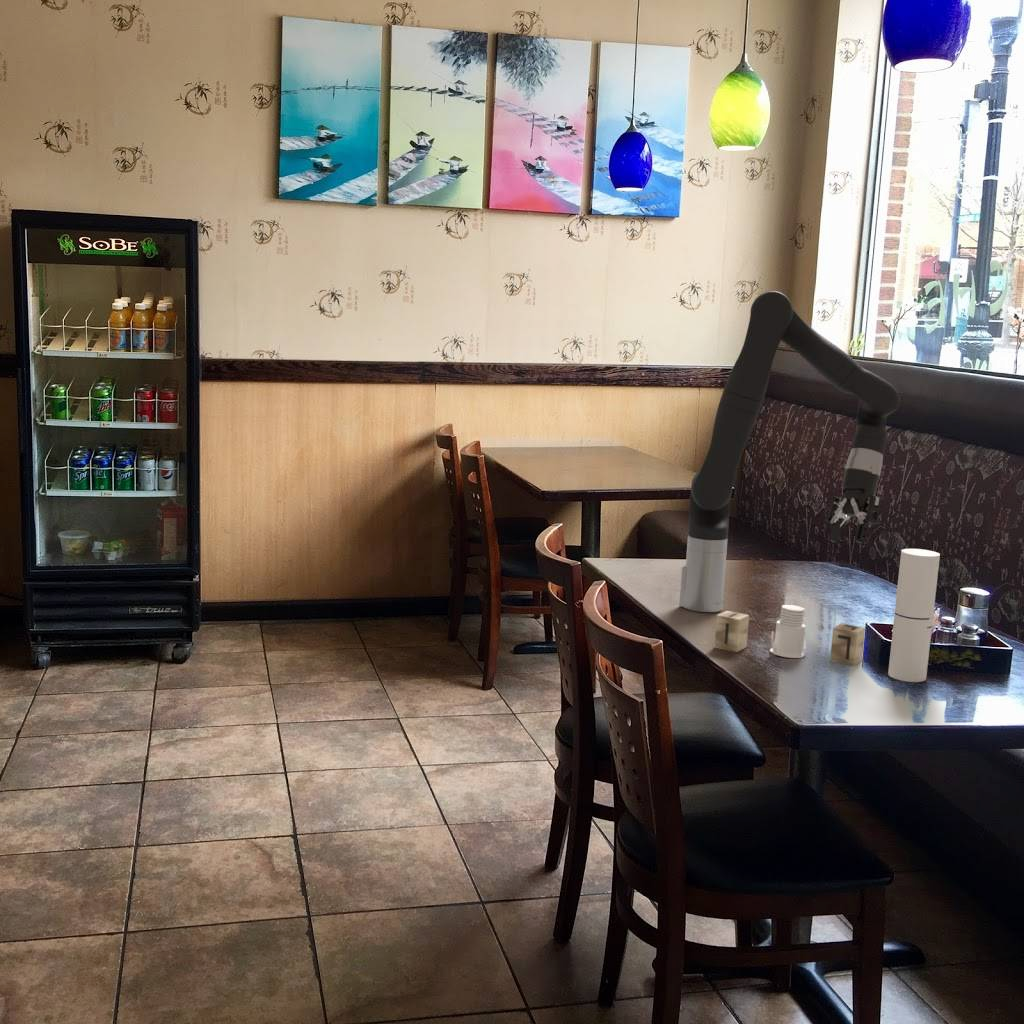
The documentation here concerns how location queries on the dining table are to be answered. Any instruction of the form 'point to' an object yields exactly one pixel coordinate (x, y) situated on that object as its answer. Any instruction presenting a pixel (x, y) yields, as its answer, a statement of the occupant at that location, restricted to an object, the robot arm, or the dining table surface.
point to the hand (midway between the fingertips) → (846, 541)
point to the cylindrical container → (913, 614)
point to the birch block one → (731, 631)
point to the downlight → (789, 633)
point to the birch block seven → (847, 644)
